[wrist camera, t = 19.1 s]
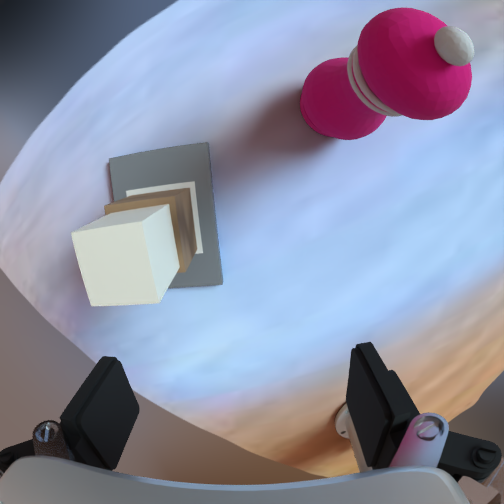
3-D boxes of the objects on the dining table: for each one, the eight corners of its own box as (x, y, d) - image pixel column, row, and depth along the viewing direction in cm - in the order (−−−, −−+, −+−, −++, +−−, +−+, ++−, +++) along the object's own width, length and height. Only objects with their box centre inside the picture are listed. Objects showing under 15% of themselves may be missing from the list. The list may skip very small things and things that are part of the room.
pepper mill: (281, 86, 25) (347, -33, 6) (345, 65, 24) (470, -27, 5) (313, 152, 27) (443, 152, 8) (375, 128, 26) (536, 113, 7)
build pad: (223, 280, 31) (222, 284, 30) (134, 286, 31) (131, 290, 30) (208, 142, 26) (206, 142, 25) (113, 158, 26) (108, 158, 25)
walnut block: (197, 249, 28) (185, 272, 23) (140, 253, 28) (118, 276, 23) (189, 187, 26) (174, 195, 21) (131, 195, 26) (104, 205, 21)
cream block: (179, 267, 22) (159, 303, 17) (123, 272, 23) (91, 306, 17) (168, 203, 21) (141, 221, 15) (110, 213, 21) (70, 232, 15)
